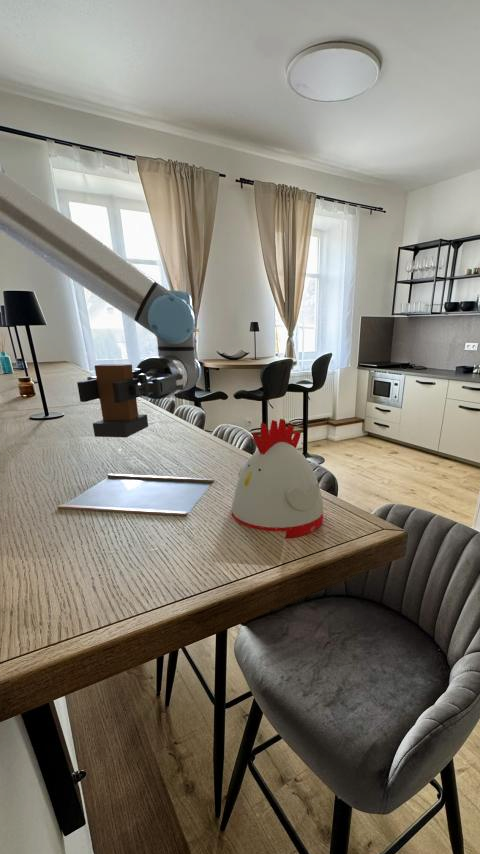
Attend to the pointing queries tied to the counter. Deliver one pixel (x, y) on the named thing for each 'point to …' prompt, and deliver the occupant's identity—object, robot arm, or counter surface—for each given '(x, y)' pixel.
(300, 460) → the kitchen timer
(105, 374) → the eraser
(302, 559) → the counter surface
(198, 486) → the chalkboard
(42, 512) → the counter surface
